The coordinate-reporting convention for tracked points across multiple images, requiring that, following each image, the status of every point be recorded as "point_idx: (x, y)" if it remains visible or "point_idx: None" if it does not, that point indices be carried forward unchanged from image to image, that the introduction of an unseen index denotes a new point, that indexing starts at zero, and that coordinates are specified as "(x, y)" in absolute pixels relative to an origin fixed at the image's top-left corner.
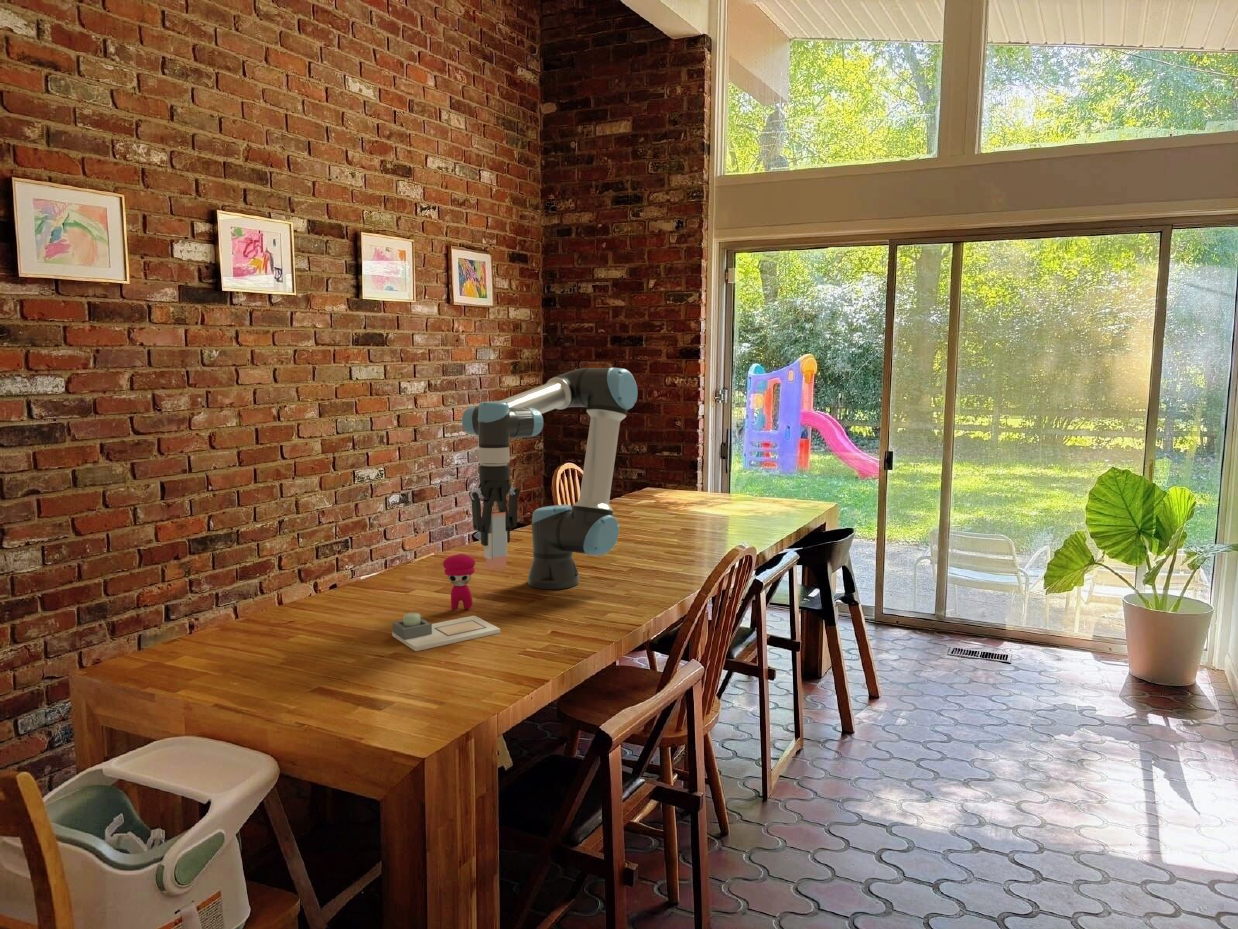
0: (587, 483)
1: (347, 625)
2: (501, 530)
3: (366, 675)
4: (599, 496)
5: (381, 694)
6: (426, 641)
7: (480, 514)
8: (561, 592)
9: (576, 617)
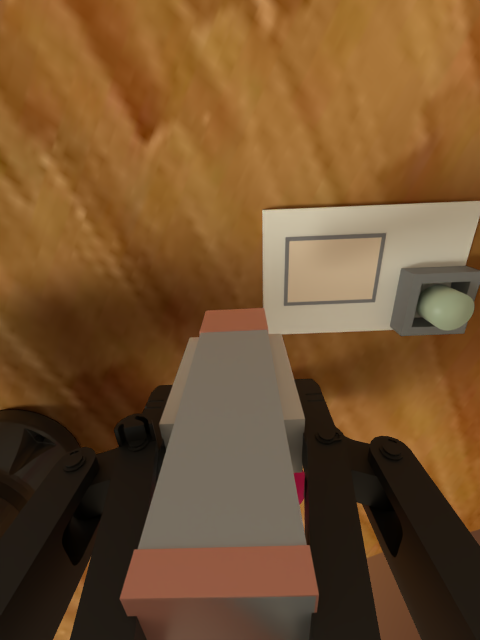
0: None
1: (455, 418)
2: (208, 421)
3: None
4: None
5: None
6: (441, 225)
7: (471, 612)
8: (30, 393)
9: (50, 211)
